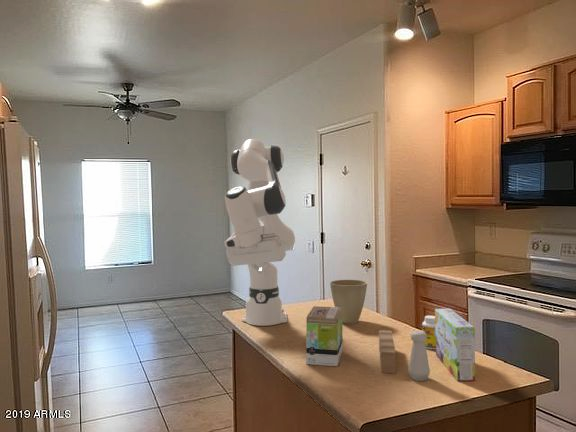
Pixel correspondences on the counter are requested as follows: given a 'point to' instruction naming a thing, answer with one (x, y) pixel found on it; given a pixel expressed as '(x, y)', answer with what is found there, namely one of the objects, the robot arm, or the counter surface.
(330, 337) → the tea box
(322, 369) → the counter surface
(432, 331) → the supplement bottle
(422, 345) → the salt shaker
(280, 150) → the robot arm
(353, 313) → the plant pot
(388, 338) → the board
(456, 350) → the snack box
